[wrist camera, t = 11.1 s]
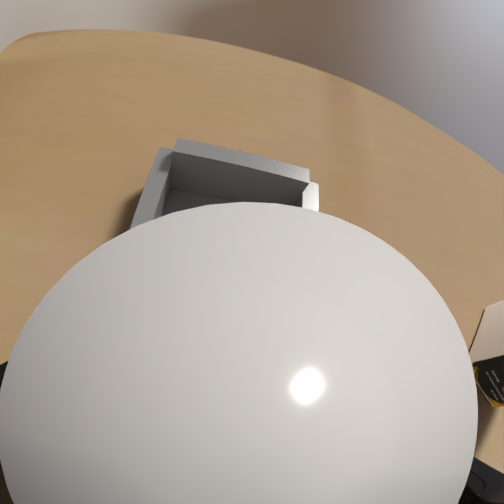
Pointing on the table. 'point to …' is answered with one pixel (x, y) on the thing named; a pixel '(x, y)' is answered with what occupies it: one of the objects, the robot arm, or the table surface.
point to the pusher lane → (219, 181)
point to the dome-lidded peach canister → (240, 370)
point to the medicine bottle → (490, 354)
